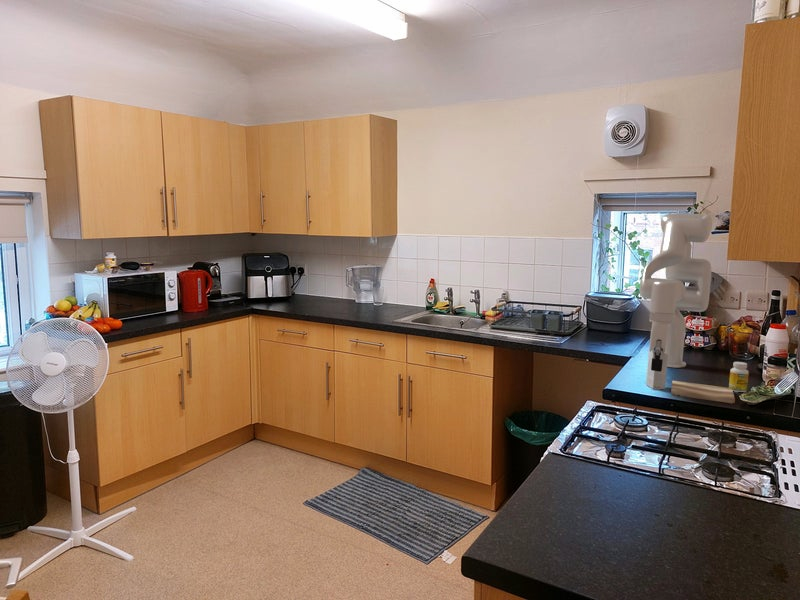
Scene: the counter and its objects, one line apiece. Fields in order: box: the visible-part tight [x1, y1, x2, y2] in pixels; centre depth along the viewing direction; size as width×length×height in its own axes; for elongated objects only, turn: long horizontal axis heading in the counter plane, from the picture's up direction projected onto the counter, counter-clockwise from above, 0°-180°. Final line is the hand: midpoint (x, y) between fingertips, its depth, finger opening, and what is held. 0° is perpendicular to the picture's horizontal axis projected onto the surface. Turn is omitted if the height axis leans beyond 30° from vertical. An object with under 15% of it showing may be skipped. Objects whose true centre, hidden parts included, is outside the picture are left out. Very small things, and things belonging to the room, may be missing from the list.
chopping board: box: [670, 380, 736, 404], centre depth 193 cm, size 14×18×2 cm
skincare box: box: [645, 350, 668, 390], centre depth 198 cm, size 6×4×12 cm
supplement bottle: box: [728, 361, 750, 393], centre depth 197 cm, size 5×5×10 cm
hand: (656, 368), depth 197 cm, fingers open, 9 cm apart
